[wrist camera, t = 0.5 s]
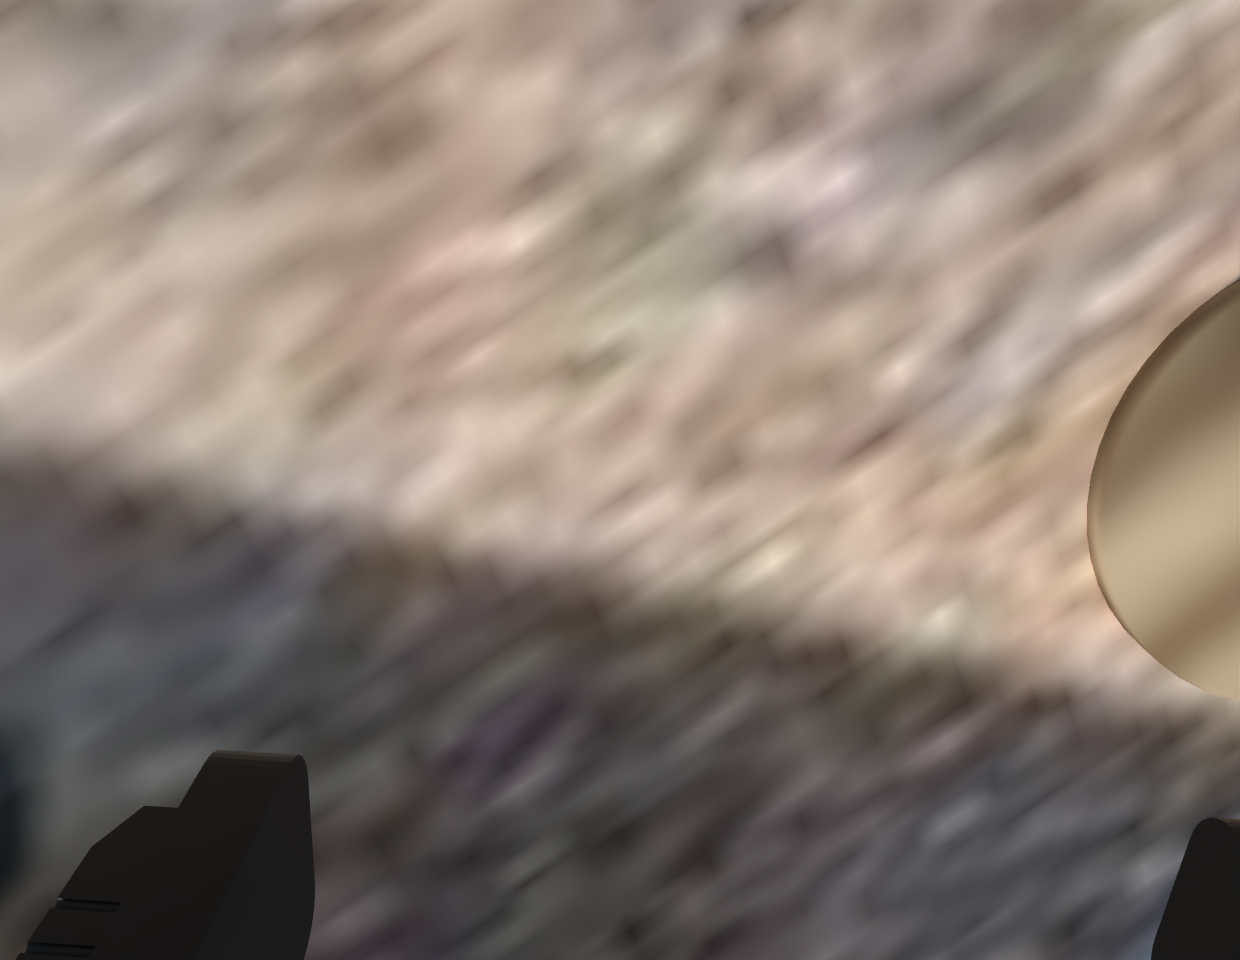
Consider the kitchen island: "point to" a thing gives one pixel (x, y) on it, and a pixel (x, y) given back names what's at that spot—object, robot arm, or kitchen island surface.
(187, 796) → the robot arm
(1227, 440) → the lid
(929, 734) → the kitchen island surface
